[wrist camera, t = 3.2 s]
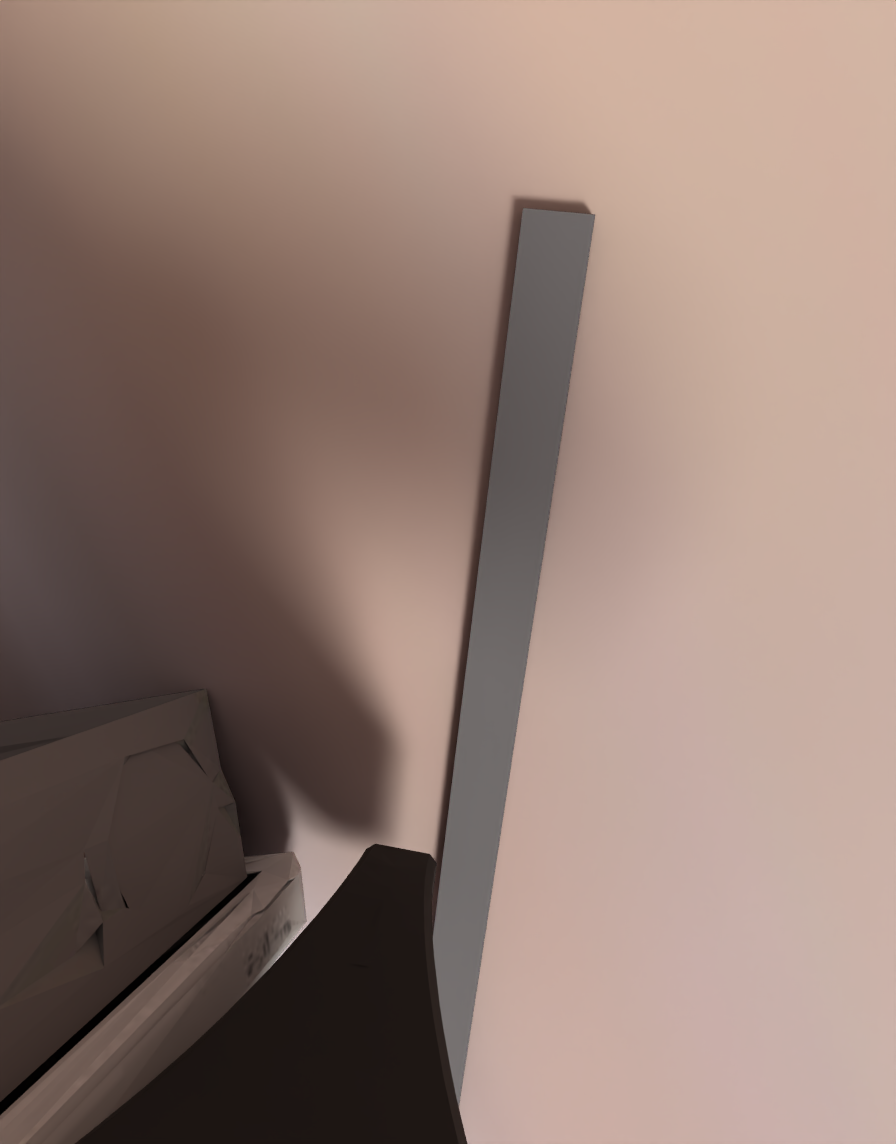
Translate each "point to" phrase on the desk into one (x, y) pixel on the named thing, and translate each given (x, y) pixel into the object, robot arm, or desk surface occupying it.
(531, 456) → the long thin gray rod
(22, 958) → the electrical switch
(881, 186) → the desk surface
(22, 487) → the desk surface
